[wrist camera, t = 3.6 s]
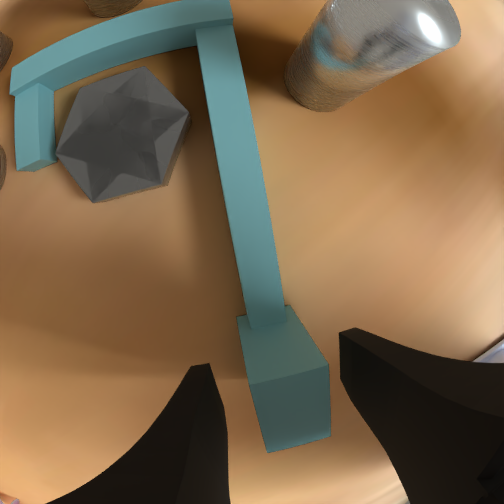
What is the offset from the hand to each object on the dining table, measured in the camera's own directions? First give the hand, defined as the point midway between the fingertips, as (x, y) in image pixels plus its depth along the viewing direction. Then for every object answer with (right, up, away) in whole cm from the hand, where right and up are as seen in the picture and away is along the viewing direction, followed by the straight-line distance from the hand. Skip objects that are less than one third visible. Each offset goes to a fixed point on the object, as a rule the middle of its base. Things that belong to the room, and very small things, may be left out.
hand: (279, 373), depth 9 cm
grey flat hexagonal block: (-5, +8, 0) cm, 9 cm away
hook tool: (-4, +5, 0) cm, 7 cm away
